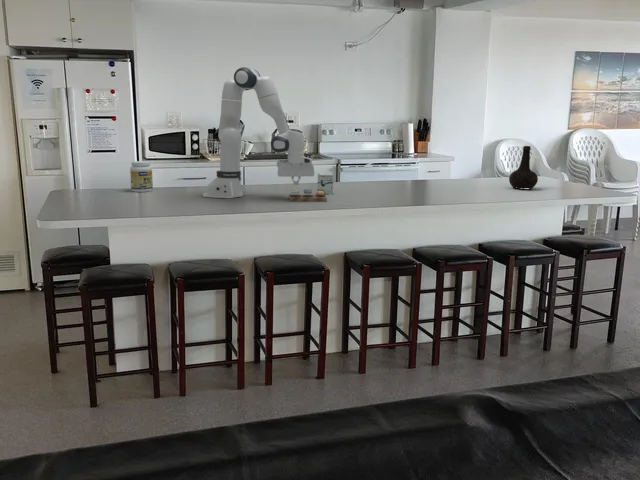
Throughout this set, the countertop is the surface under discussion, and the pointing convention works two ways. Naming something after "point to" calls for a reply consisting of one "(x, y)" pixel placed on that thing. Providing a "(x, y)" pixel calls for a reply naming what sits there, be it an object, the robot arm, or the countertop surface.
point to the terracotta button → (320, 193)
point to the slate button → (307, 191)
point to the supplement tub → (141, 176)
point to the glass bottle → (524, 172)
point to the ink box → (325, 183)
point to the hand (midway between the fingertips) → (295, 184)
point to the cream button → (295, 191)
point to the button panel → (307, 198)
